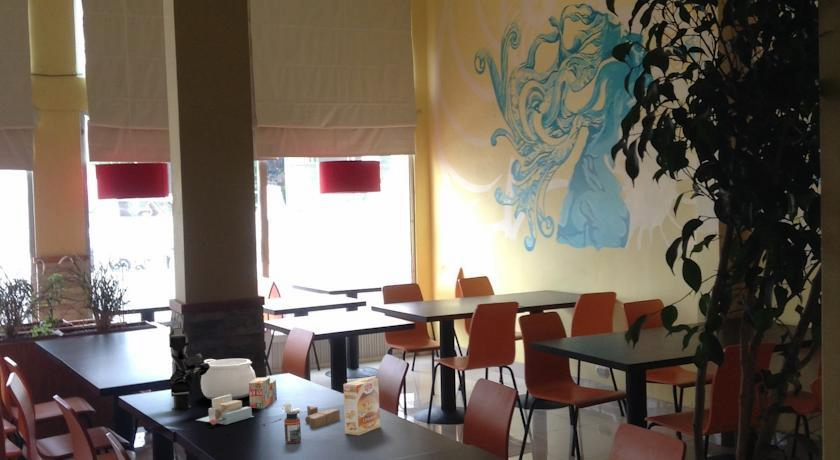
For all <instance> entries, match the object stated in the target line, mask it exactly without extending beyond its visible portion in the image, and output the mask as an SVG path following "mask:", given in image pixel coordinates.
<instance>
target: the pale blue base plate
mask: <svg viewBox="0 0 840 460" xmlns="http://www.w3.org/2000/svg"><path fill="white" fill-rule="evenodd" d="M252 411H253V410H252V408H251V407H250V406H244V407H243V406H242V408H240V409H236V410H232V411H229V412H225V413H222V418H220V419H217V420H216V419H212V420H211V421H210V420H209V415H207V416H204V417H201V418H198V419H196V421H200V422H206V423H210V424H211V425H214V426H215V425H216V424H220V425H229V424H232V423H236V422H239V421H243V420H246V419H250V418H253V417H255V416H254V415H253V412H252Z"/></svg>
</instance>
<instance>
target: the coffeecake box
mask: <svg viewBox="0 0 840 460" xmlns="http://www.w3.org/2000/svg"><path fill="white" fill-rule="evenodd" d="M342 385H343V387H342V388H343V411H344V434H346V435H353V436H361V435H363V434H366V433H368V432H371V431H373V430H376V429H378V428H380V427H381V418H380V417H381V415H380V412H381V411H380V392H379V391H380V389H379V378H374V377H373V378H371V377H363V378H361V379H357V380H353V381H349V382H346V383H343V384H342Z"/></svg>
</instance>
